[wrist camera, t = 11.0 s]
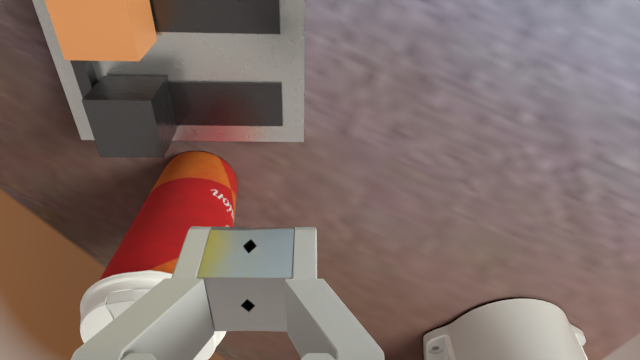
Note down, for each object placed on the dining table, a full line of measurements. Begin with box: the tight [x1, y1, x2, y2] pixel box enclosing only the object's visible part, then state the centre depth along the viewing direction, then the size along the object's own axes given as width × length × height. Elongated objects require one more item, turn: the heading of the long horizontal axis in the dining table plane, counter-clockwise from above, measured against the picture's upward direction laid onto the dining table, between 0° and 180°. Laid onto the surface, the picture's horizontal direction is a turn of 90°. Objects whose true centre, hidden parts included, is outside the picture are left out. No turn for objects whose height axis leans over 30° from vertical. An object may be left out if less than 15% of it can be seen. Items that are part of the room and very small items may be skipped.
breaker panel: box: [32, 0, 305, 158], centre depth 27 cm, size 13×16×6 cm
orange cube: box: [45, 0, 157, 61], centre depth 24 cm, size 4×4×4 cm
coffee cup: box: [80, 151, 237, 360], centre depth 30 cm, size 8×8×15 cm
